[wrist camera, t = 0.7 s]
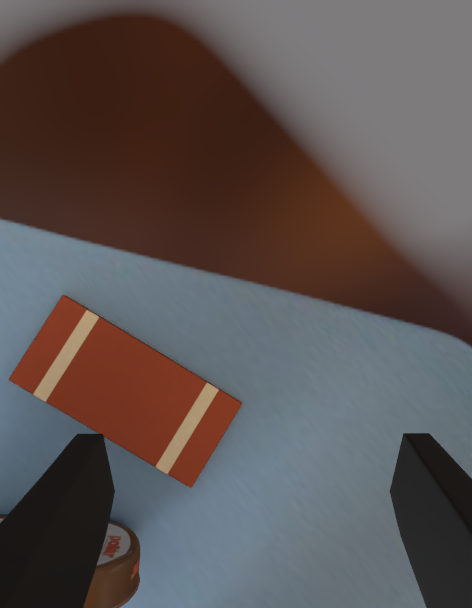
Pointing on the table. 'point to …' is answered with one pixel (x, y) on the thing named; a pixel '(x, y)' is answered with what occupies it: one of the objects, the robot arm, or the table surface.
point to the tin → (114, 569)
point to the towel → (126, 391)
